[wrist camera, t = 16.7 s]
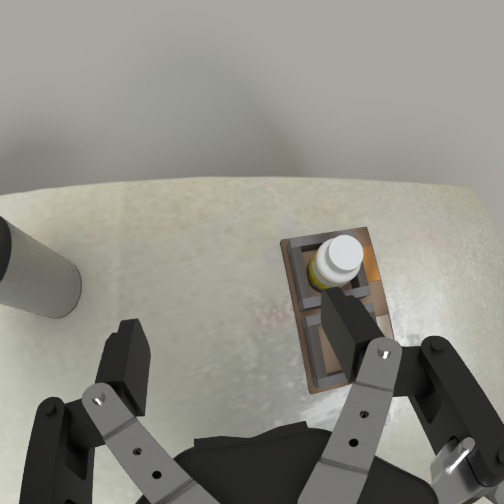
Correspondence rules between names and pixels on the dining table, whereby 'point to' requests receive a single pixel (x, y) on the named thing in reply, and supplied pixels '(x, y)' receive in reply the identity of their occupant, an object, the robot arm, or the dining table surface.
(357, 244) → the supplement bottle
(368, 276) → the socket board
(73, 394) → the dining table surface
